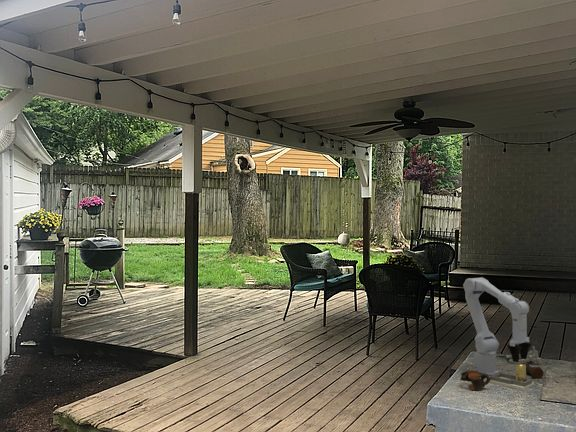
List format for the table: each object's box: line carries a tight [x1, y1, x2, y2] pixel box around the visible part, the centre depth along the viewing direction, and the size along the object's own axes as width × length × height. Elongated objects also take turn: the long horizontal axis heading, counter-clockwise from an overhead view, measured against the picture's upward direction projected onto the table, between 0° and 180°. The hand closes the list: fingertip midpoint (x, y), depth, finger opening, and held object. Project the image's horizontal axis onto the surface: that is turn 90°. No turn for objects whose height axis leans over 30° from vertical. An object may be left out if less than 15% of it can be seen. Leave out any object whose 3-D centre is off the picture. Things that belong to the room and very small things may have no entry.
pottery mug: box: [459, 370, 490, 391], centre depth 227 cm, size 12×10×8 cm
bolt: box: [521, 362, 545, 380], centre depth 247 cm, size 6×5×15 cm
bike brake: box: [496, 345, 542, 364], centre depth 271 cm, size 14×7×20 cm
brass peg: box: [515, 362, 527, 382], centre depth 229 cm, size 4×4×8 cm
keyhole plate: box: [488, 372, 535, 391], centre depth 233 cm, size 15×11×2 cm
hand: (519, 360), depth 236 cm, fingers open, 7 cm apart
